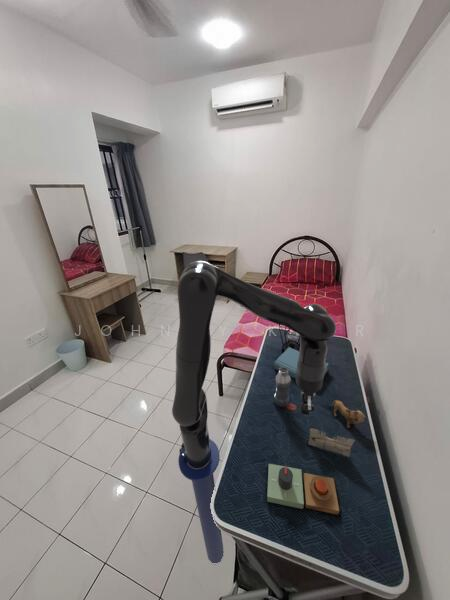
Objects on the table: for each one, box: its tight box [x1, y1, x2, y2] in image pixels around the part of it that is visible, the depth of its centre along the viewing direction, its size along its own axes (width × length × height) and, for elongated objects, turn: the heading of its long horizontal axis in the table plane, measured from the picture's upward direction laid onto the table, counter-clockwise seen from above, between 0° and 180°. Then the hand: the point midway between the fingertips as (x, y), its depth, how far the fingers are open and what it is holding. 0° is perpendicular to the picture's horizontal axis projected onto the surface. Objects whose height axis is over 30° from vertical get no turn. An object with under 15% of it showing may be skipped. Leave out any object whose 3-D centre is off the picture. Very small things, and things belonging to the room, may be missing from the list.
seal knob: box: [278, 466, 293, 490], centre depth 77 cm, size 4×4×5 cm
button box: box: [302, 472, 340, 516], centre depth 76 cm, size 10×9×4 cm
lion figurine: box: [327, 400, 366, 429], centre depth 99 cm, size 15×5×9 cm, turn 36°
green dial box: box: [266, 463, 305, 510], centre depth 79 cm, size 11×10×3 cm
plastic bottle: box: [273, 367, 292, 408], centre depth 105 cm, size 6×7×20 cm
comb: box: [307, 427, 356, 458], centre depth 87 cm, size 15×2×10 cm, turn 70°
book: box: [273, 346, 330, 380], centre depth 126 cm, size 23×16×5 cm
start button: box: [315, 479, 328, 495], centre depth 75 cm, size 4×4×2 cm
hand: (304, 412), depth 76 cm, fingers closed
